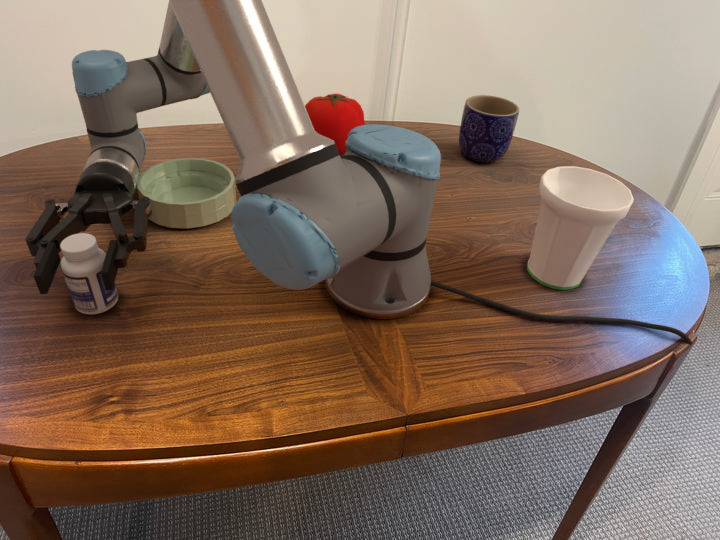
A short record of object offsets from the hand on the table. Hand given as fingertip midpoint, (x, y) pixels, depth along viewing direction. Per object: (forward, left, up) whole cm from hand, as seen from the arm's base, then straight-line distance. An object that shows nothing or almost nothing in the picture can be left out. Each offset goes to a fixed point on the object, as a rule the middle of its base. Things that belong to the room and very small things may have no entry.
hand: (74, 283), depth 62 cm
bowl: (+13, -28, -8) cm, 31 cm away
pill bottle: (+4, -4, -8) cm, 9 cm away
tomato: (+8, -61, -8) cm, 62 cm away
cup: (-43, -51, -8) cm, 67 cm away
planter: (-17, -81, -8) cm, 83 cm away
